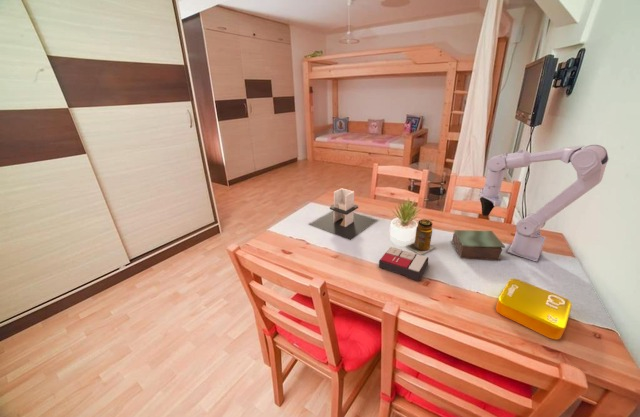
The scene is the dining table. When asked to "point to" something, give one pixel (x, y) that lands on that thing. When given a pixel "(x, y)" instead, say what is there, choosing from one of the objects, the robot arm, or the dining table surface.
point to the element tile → (534, 308)
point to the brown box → (476, 251)
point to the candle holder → (343, 217)
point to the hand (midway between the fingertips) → (485, 215)
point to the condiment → (422, 237)
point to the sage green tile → (478, 238)
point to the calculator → (404, 263)
